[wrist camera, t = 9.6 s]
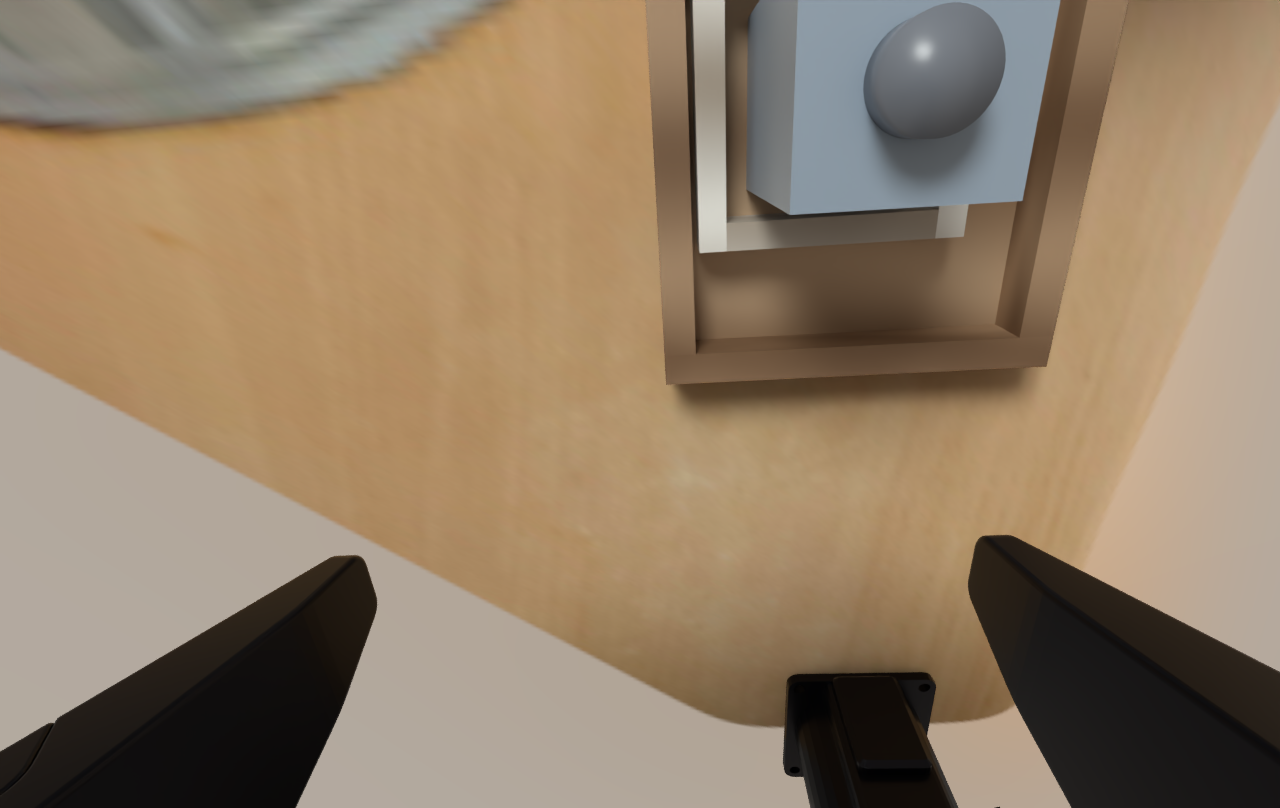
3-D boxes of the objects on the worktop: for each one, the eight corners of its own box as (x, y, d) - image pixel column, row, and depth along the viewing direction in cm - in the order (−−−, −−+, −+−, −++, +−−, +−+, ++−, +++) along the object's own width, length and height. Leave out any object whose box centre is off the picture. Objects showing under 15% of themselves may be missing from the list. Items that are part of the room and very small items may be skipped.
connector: (895, 180, 18) (1053, 206, 11) (746, 189, 18) (799, 220, 11) (913, 4, 16) (1119, -110, 9) (747, 17, 16) (813, -82, 9)
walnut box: (1012, 346, 20) (1048, 367, 18) (666, 363, 21) (666, 385, 19) (1106, -135, 15) (1170, -174, 13) (642, -89, 16) (639, -120, 14)
